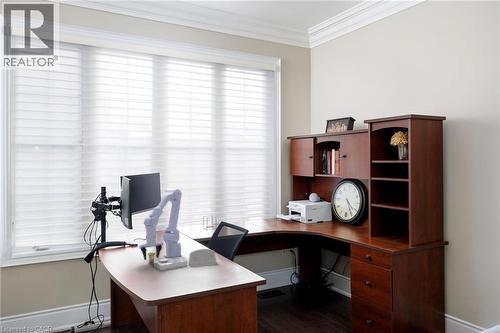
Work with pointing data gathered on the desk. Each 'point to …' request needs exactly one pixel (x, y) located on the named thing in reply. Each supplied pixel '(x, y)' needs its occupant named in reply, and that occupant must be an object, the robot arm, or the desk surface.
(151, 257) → the bushing
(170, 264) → the jig
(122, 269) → the desk surface
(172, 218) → the robot arm
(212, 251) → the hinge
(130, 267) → the desk surface
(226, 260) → the desk surface
